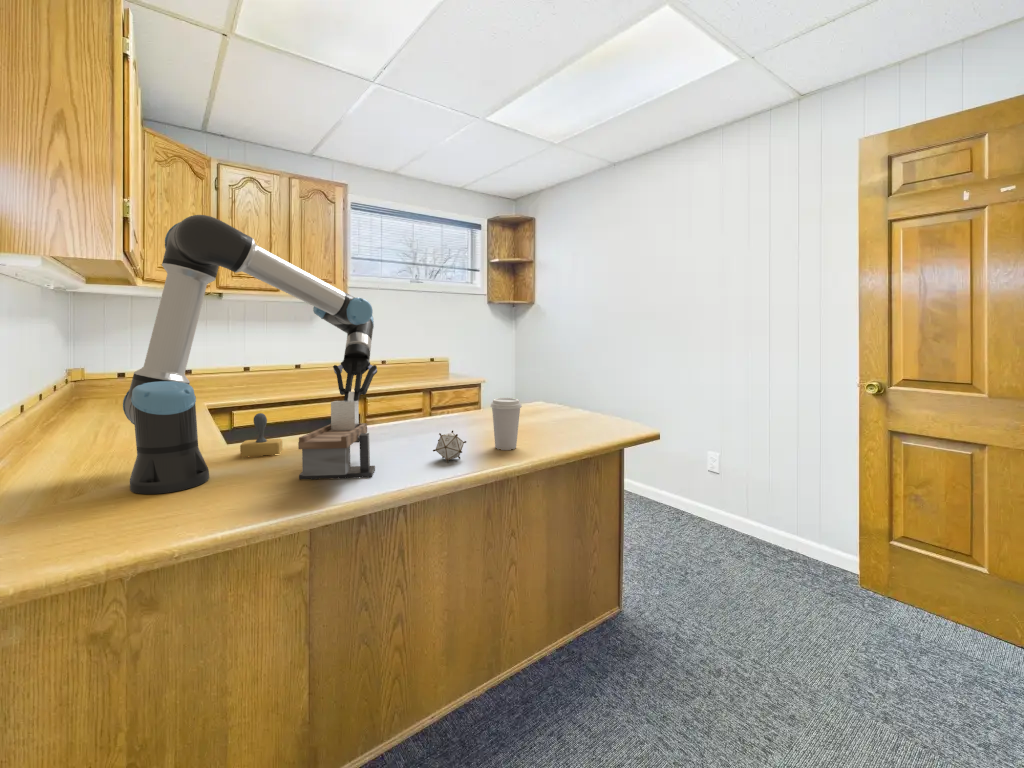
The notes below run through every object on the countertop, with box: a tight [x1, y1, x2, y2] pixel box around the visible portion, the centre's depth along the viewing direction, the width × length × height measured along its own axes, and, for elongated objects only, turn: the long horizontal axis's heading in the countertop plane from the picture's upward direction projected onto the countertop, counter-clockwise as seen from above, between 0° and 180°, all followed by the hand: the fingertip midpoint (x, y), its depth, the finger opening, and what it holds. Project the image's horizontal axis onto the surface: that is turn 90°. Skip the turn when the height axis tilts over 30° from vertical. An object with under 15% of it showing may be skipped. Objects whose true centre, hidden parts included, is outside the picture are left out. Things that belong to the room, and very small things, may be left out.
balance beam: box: [297, 422, 368, 476], centre depth 120 cm, size 30×10×8 cm, turn 8°
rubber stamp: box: [239, 412, 284, 458], centre depth 139 cm, size 10×6×12 cm, turn 106°
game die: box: [432, 429, 467, 464], centre depth 135 cm, size 9×8×10 cm
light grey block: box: [330, 400, 360, 431], centre depth 130 cm, size 6×6×8 cm
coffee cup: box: [490, 397, 523, 451], centre depth 148 cm, size 10×10×15 cm
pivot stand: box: [298, 432, 376, 480], centre depth 120 cm, size 6×17×10 cm, turn 98°
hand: (349, 412), depth 136 cm, fingers closed
